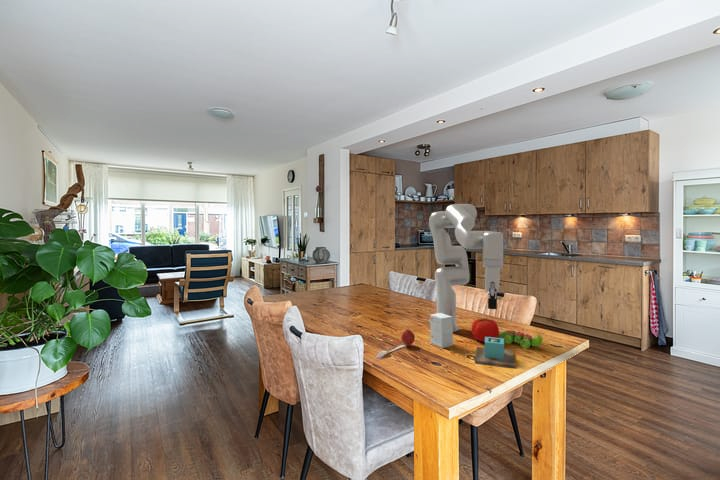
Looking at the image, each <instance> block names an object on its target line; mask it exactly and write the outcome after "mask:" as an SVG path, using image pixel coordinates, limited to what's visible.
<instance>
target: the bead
mask: <svg viewBox="0 0 720 480" xmlns="http://www.w3.org/2000/svg"><path fill="white" fill-rule="evenodd" d="M492 339H495V340H498V342H491V340H492ZM484 347H485V357H487V358H495V359H504V350H505V342H504V339H503V338H493V337H485V342H484Z"/></svg>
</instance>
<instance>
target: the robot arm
mask: <svg viewBox="0 0 720 480" xmlns="http://www.w3.org/2000/svg"><path fill="white" fill-rule="evenodd" d="M477 214H478V212H477V208H476V207H475V206H474V205H473V204H470V203H454V204H450V205H448V206H447V207H446V209H445V210H444V211H443V210H442V211H441V210H440V211H434V212H432V213H431V215H430V216H429V221H428V227H429V230H430V233H431V236H432V241H433V247H434V248H433V249H434V256H435V261H436V262H437V264H438V265H455V266H442V267H439V268H437V269H436V270H435V271H434V281H435V286H436V287H435V289H436V314H437V313H443V314H446V315H449V316H452V317H453V333H454V332H458V331H460V326H459V325H457V295H456V292H455V290H454V289H453V286H465V285H467V284H469V281H470V278H471V277H470V270H469V269H470V267H469V262H468V254H467V251H466V250H482V268H485V269H484V271H485V272H484V293H486V294H487V293H488V296H487V297H488V298H487V309H488V310H497V309H498V293H499V289H500V274H501V273H500V272H501V271H500V270H501V269H502V268H504V234H503V232H500V231H491V230H472V229H473V228H474V227H475V225H476V218H477V216H478V215H477ZM453 228H454V235H455V239H456V241H457V242H458V244H460V245H452V243H451V236H450V235H449V233H448V232H447V231H446V230H445V229H453ZM428 323H429V324H430V318H428Z"/></svg>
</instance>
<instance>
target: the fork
mask: <svg viewBox="0 0 720 480" xmlns="http://www.w3.org/2000/svg"><path fill="white" fill-rule="evenodd" d="M406 347H407V345H406V344H400V345H398V346H397V347H395V348H393V349H391V350H389V351H387V350H381V351H379V353H378V354H377V355H376V356H375V358H376V359H377V360H380V359H381V358H383V356H384V355H385V354H387V353H392V352H395V351H398V350H399V349H403V348H406Z"/></svg>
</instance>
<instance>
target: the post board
mask: <svg viewBox="0 0 720 480" xmlns="http://www.w3.org/2000/svg"><path fill="white" fill-rule="evenodd" d="M491 342H498V340H495V339H492V340H491ZM474 363H475V364H479V365H488V366H494V367H495V366H497V367H503V368H513V369H515V367H516V366H515V358H514V350H511V349H504V359H495V358H487V357H485V346H484V347H483V346H476V349H475V357H474Z"/></svg>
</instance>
